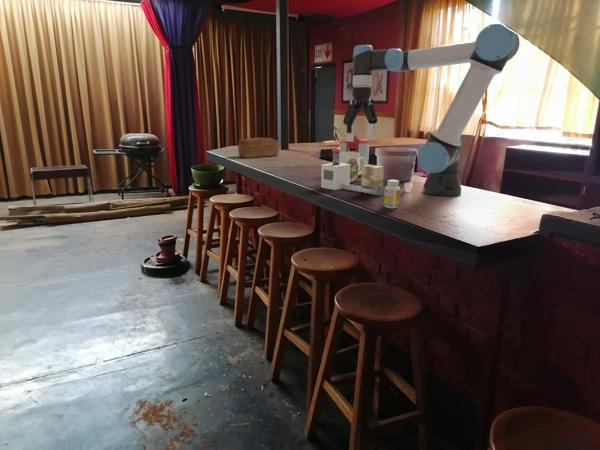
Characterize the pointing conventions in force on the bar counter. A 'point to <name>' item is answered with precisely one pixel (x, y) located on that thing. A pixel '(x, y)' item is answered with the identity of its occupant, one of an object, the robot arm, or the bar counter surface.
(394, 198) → the supplement bottle
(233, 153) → the bar counter surface
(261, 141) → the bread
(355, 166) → the pitcher
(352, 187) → the rail
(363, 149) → the citrus juicer
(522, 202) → the bar counter surface
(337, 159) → the gauge button
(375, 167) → the carriage
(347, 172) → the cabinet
